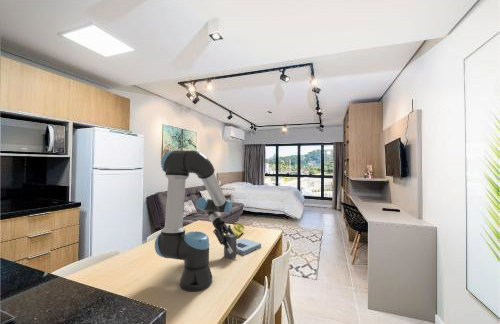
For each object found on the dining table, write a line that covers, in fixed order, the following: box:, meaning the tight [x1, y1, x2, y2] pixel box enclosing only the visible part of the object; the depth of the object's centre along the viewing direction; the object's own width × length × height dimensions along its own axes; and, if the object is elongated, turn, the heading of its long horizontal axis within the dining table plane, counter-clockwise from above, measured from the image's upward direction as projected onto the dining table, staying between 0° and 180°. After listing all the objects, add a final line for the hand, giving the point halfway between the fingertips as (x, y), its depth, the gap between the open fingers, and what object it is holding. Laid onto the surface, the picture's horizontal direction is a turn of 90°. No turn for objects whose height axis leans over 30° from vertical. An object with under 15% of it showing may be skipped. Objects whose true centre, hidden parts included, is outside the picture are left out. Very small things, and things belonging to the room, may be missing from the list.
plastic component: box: [231, 222, 246, 239], centre depth 180 cm, size 20×7×10 cm
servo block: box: [223, 233, 237, 260], centre depth 136 cm, size 4×6×14 cm
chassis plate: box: [236, 238, 262, 256], centre depth 150 cm, size 18×16×2 cm
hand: (234, 251), depth 134 cm, fingers closed on servo block, 4 cm apart
